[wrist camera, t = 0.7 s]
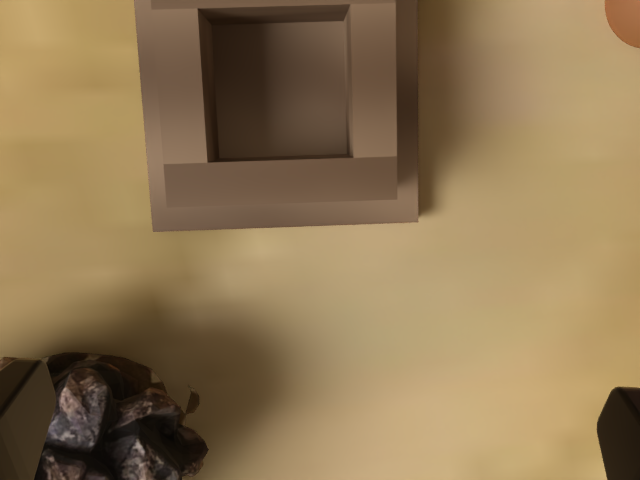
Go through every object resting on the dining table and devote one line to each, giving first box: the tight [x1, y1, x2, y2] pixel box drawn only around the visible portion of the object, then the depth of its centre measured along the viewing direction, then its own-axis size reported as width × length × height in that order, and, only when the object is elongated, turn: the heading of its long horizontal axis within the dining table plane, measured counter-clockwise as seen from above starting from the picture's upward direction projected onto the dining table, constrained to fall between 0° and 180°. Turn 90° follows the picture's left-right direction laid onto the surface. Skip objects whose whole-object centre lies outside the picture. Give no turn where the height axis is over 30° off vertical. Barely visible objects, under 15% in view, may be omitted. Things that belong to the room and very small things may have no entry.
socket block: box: [134, 0, 418, 232], centre depth 21 cm, size 10×10×4 cm
